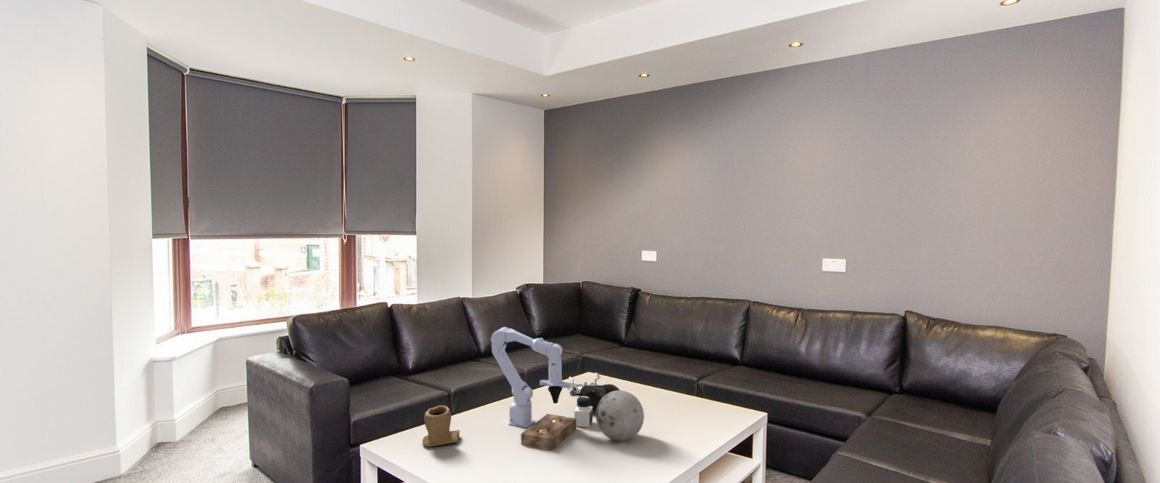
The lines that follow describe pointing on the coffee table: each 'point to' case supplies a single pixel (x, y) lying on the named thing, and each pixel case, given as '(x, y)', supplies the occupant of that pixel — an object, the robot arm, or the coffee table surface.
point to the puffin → (596, 393)
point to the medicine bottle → (583, 412)
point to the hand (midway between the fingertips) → (555, 402)
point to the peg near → (543, 431)
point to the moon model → (619, 415)
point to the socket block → (554, 434)
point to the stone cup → (439, 427)
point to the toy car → (580, 385)
